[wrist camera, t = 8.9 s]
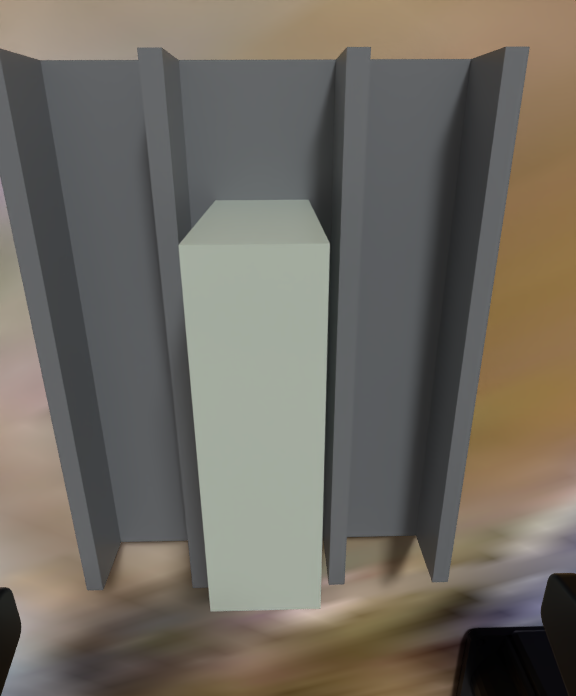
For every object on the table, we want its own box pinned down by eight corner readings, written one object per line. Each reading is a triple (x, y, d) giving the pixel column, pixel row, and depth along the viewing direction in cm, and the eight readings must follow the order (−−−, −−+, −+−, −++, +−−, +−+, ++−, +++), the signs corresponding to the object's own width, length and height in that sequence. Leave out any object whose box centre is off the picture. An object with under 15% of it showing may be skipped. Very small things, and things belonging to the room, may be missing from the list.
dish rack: (425, 519, 23) (450, 581, 20) (111, 525, 23) (84, 590, 20) (482, 62, 16) (533, 46, 13) (30, 64, 16) (-31, 48, 13)
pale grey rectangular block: (306, 459, 21) (320, 608, 14) (230, 460, 21) (210, 611, 14) (308, 199, 17) (329, 243, 10) (215, 200, 17) (178, 244, 10)
